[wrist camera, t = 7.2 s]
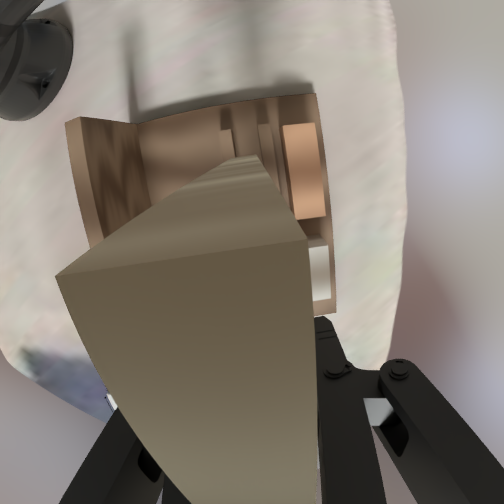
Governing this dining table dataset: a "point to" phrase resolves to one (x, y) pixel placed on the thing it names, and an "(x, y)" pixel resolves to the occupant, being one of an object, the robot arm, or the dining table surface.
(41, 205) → the dining table surface
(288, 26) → the dining table surface
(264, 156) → the walnut rack
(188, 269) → the birch sheet
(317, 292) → the grey mdf offcut
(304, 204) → the cherry offcut
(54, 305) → the dining table surface
